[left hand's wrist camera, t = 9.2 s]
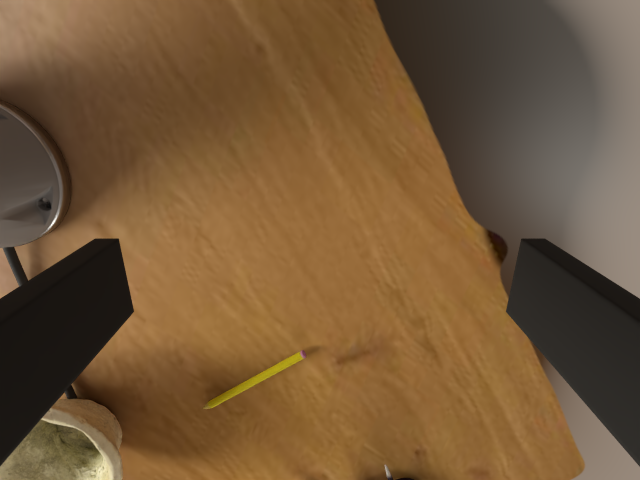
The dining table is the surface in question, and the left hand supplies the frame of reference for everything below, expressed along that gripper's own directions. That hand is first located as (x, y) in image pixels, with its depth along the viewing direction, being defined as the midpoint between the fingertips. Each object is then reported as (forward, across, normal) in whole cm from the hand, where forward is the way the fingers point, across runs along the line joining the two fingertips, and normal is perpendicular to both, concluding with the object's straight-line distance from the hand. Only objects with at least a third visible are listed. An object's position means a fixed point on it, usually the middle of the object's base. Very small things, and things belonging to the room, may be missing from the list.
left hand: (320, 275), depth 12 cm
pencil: (+28, +9, +29) cm, 41 cm away
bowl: (+28, +32, +36) cm, 55 cm away
